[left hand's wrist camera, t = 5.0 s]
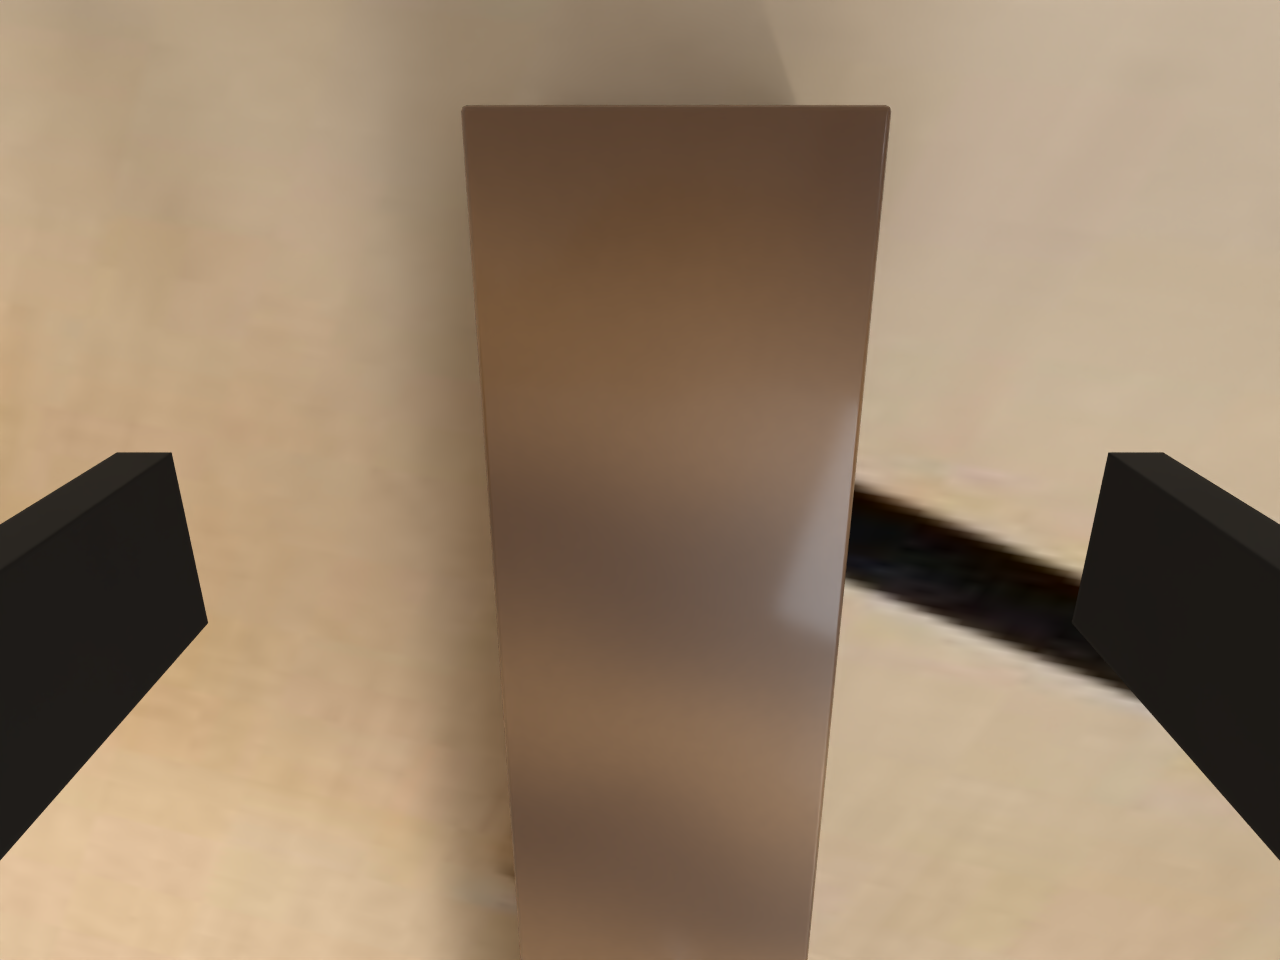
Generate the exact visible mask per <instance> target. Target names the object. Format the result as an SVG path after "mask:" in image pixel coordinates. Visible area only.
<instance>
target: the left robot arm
mask: <svg viewBox="0 0 1280 960" xmlns="http://www.w3.org/2000/svg"><path fill="white" fill-rule="evenodd" d="M207 624H208V621H207V616H206V611H205V607H204V602H203V597H202V592H201V588H200V583H199V578H198V574H197V569H196V564H195V560H194V555H193V550H192V546H191V541H190V536H189V532H188V527H187V522H186V518H185V513H184V508H183V504H182V499H181V494H180V490H179V485H178V480H177V476H176V471H175V466H174V462H173V457H172V453H115V454H114V455H112V456H110V457H109V458H107V459H106V460H104V461H102V462H101V463H99V464H97V465H96V466H94V467H93V468H91V469H89V470H88V471H86V472H85V473H83V474H81V475H80V476H78V477H76V478H75V479H73V480H72V481H70V482H68V483H67V484H65V485H63V486H62V487H60V488H59V489H57V490H55V491H54V492H52V493H51V494H49V495H47V496H46V497H44V498H42V499H41V500H39V501H38V502H36V503H34V504H33V505H31V506H29V507H28V508H26V509H25V510H23V511H21V512H20V513H18V514H16V515H15V516H13V517H12V518H10V519H8V520H7V521H5V522H4V523H2V524H0V860H1V859H2V858H3V857H4V856H5V854H6V853H7V852H8V851H9V850H10V849H11V848H12V846H13V845H14V844H15V843H16V842H17V841H18V840H19V838H20V837H21V836H22V835H23V834H24V833H25V832H26V830H27V829H28V828H29V827H30V826H31V825H32V824H33V822H34V821H35V820H36V819H37V818H38V817H39V816H40V814H41V813H42V812H43V811H44V810H45V809H46V808H47V806H48V805H49V804H50V803H51V802H52V801H53V800H54V798H55V797H56V796H57V795H58V794H59V793H60V792H61V790H62V789H63V788H64V787H65V786H66V785H67V784H68V782H69V781H70V780H71V779H72V778H73V777H74V776H75V774H76V773H77V772H78V771H79V770H80V769H81V768H82V766H83V765H84V764H85V763H86V762H87V761H88V760H89V758H90V757H91V756H92V755H93V754H94V753H95V752H96V750H97V749H98V748H99V747H100V746H101V745H102V744H103V742H104V741H105V740H106V739H107V738H108V737H109V736H110V734H111V733H112V732H113V731H114V730H115V729H116V728H117V726H118V725H119V724H120V723H121V722H122V721H123V720H124V718H125V717H126V716H127V715H128V714H129V713H130V712H131V710H132V709H133V708H134V707H135V706H136V705H137V704H138V702H139V701H140V700H141V699H142V698H143V697H144V696H145V694H146V693H147V692H148V691H149V690H150V689H151V688H152V686H153V685H154V684H155V683H156V682H157V681H158V680H159V678H160V677H161V676H162V675H163V674H164V673H165V672H166V670H167V669H168V668H169V667H170V666H171V665H172V664H173V662H174V661H175V660H176V659H177V658H178V657H179V656H180V654H181V653H182V652H183V651H184V650H185V649H186V648H187V646H188V645H189V644H190V643H191V642H192V641H193V640H194V638H195V637H196V636H197V635H198V634H199V633H200V632H201V630H202V629H203V628H204V627H205V626H206V625H207ZM1072 624H1073V625H1074V626H1075V627H1076V628H1077V629H1078V630H1079V632H1080V633H1081V634H1082V635H1083V636H1084V637H1085V638H1086V640H1087V641H1088V642H1089V643H1090V644H1091V645H1092V646H1093V648H1094V649H1095V650H1096V651H1097V652H1098V653H1099V654H1100V656H1101V657H1102V658H1103V659H1104V660H1105V661H1106V662H1107V664H1108V665H1109V666H1110V667H1111V668H1112V669H1113V670H1114V672H1115V673H1116V674H1117V675H1118V676H1119V677H1120V678H1121V680H1122V681H1123V682H1124V683H1125V684H1126V685H1127V686H1128V688H1129V689H1130V690H1131V691H1132V692H1133V693H1134V694H1135V696H1136V697H1137V698H1138V699H1139V700H1140V701H1141V702H1142V704H1143V705H1144V706H1145V707H1146V708H1147V709H1148V710H1149V712H1150V713H1151V714H1152V715H1153V716H1154V717H1155V718H1156V720H1157V721H1158V722H1159V723H1160V724H1161V725H1162V726H1163V728H1164V729H1165V730H1166V731H1167V732H1168V733H1169V734H1170V736H1171V737H1172V738H1173V739H1174V740H1175V741H1176V742H1177V744H1178V745H1179V746H1180V747H1181V748H1182V749H1183V750H1184V752H1185V753H1186V754H1187V755H1188V756H1189V757H1190V758H1191V760H1192V761H1193V762H1194V763H1195V764H1196V765H1197V766H1198V768H1199V769H1200V770H1201V771H1202V772H1203V773H1204V774H1205V776H1206V777H1207V778H1208V779H1209V780H1210V781H1211V782H1212V784H1213V785H1214V786H1215V787H1216V788H1217V789H1218V790H1219V792H1220V793H1221V794H1222V795H1223V796H1224V797H1225V798H1226V800H1227V801H1228V802H1229V803H1230V804H1231V805H1232V806H1233V808H1234V809H1235V810H1236V811H1237V812H1238V813H1239V814H1240V816H1241V817H1242V818H1243V819H1244V820H1245V821H1246V822H1247V824H1248V825H1249V826H1250V827H1251V828H1252V829H1253V830H1254V832H1255V833H1256V834H1257V835H1258V836H1259V837H1260V838H1261V840H1262V841H1263V842H1264V843H1265V844H1266V845H1267V846H1268V848H1269V849H1270V850H1271V851H1272V852H1273V853H1274V854H1275V856H1276V857H1277V858H1278V859H1279V860H1280V524H1278V523H1276V522H1275V521H1273V520H1272V519H1270V518H1268V517H1267V516H1265V515H1263V514H1262V513H1260V512H1259V511H1257V510H1255V509H1254V508H1252V507H1251V506H1249V505H1247V504H1246V503H1244V502H1242V501H1241V500H1239V499H1238V498H1236V497H1234V496H1233V495H1231V494H1229V493H1228V492H1226V491H1225V490H1223V489H1221V488H1220V487H1218V486H1217V485H1215V484H1213V483H1212V482H1210V481H1208V480H1207V479H1205V478H1204V477H1202V476H1200V475H1199V474H1197V473H1195V472H1194V471H1192V470H1191V469H1189V468H1187V467H1186V466H1184V465H1183V464H1181V463H1179V462H1178V461H1176V460H1174V459H1173V458H1171V457H1170V456H1168V455H1166V454H1165V453H1108V457H1107V462H1106V466H1105V471H1104V476H1103V480H1102V485H1101V490H1100V494H1099V499H1098V504H1097V508H1096V513H1095V518H1094V522H1093V527H1092V532H1091V536H1090V541H1089V546H1088V550H1087V555H1086V560H1085V564H1084V569H1083V574H1082V578H1081V583H1080V588H1079V592H1078V597H1077V602H1076V606H1075V611H1074V616H1073V621H1072Z"/></svg>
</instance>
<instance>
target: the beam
mask: <svg viewBox="0 0 1280 960" xmlns="http://www.w3.org/2000/svg"><path fill="white" fill-rule="evenodd" d="M461 116H462V130H463V144H464V159H465V173H466V187H467V201H468V216H469V230H470V244H471V258H472V273H473V287H474V301H475V316H476V330H477V344H478V358H479V373H480V387H481V401H482V415H483V430H484V444H485V458H486V472H487V487H488V501H489V515H490V530H491V544H492V558H493V572H494V587H495V601H496V615H497V629H498V644H499V658H500V672H501V687H502V701H503V715H504V729H505V744H506V758H507V772H508V786H509V801H510V815H511V829H512V843H513V858H514V872H515V886H516V901H517V915H518V929H519V943H520V958H521V960H807V959H808V949H809V938H810V928H811V918H812V908H813V898H814V888H815V878H816V868H817V857H818V847H819V837H820V827H821V817H822V807H823V797H824V786H825V776H826V766H827V756H828V746H829V736H830V726H831V715H832V705H833V695H834V685H835V675H836V665H837V655H838V645H839V634H840V624H841V614H842V604H843V594H844V584H845V574H846V563H847V553H848V543H849V533H850V523H851V513H852V503H853V492H854V482H855V472H856V462H857V452H858V442H859V432H860V422H861V411H862V401H863V391H864V381H865V371H866V361H867V351H868V340H869V330H870V320H871V310H872V300H873V290H874V280H875V270H876V259H877V249H878V239H879V229H880V219H881V209H882V199H883V188H884V178H885V168H886V158H887V148H888V138H889V128H890V117H891V110H890V107H888V106H886V105H466V106H464V107H463V108H462V111H461Z"/></svg>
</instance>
